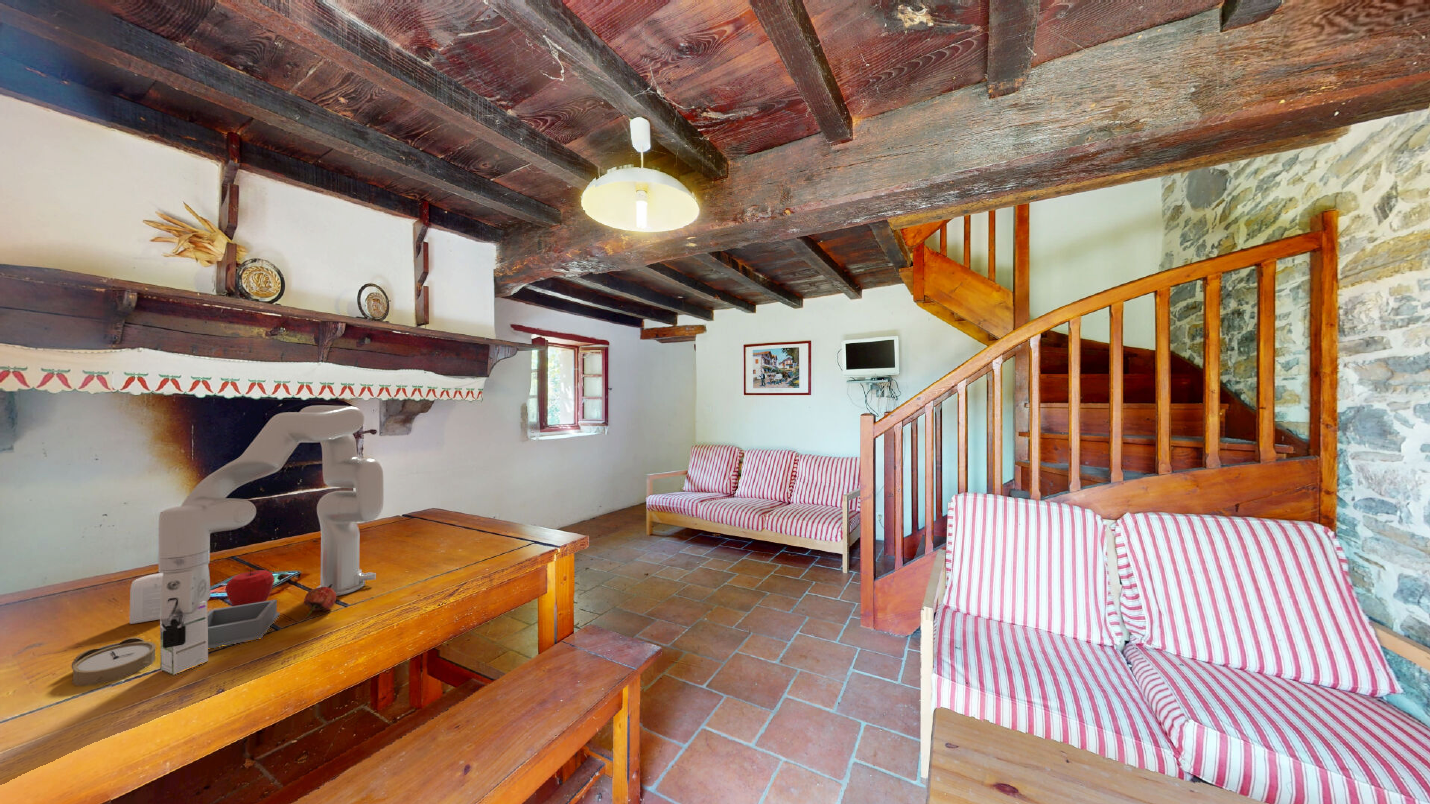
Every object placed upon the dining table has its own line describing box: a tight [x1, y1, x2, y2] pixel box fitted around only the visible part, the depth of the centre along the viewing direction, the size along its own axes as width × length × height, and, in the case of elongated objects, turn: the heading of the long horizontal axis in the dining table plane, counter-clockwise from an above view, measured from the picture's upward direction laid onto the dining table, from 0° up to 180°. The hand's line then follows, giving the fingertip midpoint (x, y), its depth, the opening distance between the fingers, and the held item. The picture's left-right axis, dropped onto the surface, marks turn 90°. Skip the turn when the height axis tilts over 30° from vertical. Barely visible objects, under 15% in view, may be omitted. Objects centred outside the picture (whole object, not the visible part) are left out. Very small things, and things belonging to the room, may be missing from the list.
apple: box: [224, 569, 275, 606], centre depth 131 cm, size 10×10×11 cm
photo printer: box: [129, 572, 163, 625], centre depth 124 cm, size 10×4×12 cm, turn 123°
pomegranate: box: [303, 584, 337, 616], centre depth 129 cm, size 7×7×10 cm
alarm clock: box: [70, 636, 157, 687], centre depth 101 cm, size 11×5×15 cm
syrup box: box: [159, 601, 209, 676], centre depth 102 cm, size 6×6×14 cm
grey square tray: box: [207, 599, 281, 649], centre depth 116 cm, size 14×14×5 cm
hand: (184, 636), depth 102 cm, fingers closed on syrup box, 8 cm apart
